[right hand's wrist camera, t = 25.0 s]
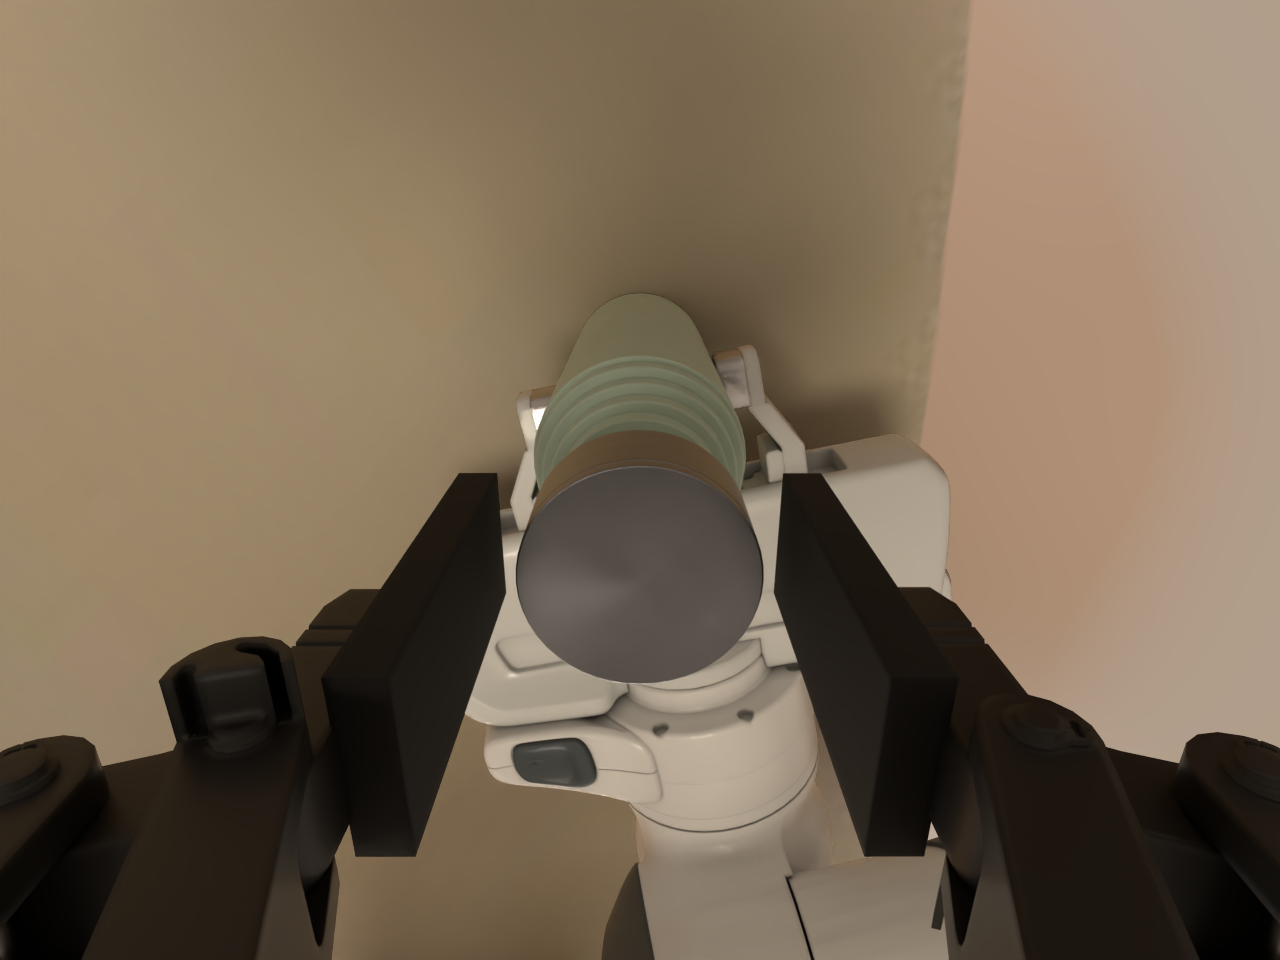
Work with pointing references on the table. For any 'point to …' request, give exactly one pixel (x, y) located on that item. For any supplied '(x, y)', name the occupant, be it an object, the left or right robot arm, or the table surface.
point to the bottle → (639, 386)
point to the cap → (639, 559)
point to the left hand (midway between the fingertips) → (633, 371)
